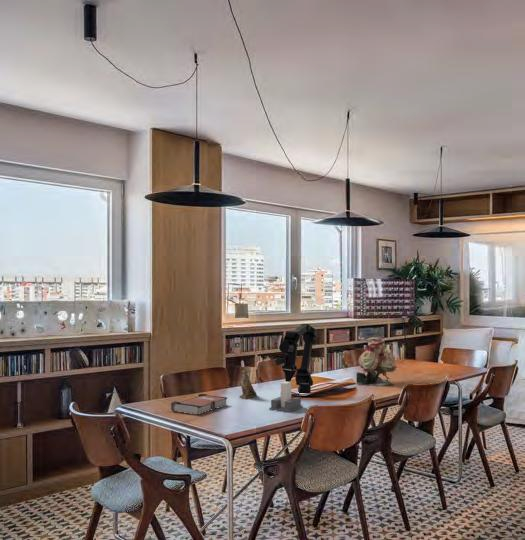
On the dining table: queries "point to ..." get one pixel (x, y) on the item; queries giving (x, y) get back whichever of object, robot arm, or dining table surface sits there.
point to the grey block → (285, 392)
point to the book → (199, 404)
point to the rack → (286, 404)
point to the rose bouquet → (375, 363)
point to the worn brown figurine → (247, 387)
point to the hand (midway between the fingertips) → (287, 382)
